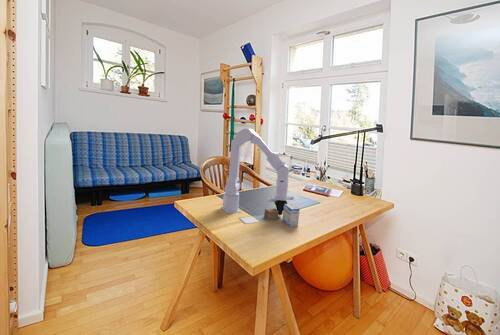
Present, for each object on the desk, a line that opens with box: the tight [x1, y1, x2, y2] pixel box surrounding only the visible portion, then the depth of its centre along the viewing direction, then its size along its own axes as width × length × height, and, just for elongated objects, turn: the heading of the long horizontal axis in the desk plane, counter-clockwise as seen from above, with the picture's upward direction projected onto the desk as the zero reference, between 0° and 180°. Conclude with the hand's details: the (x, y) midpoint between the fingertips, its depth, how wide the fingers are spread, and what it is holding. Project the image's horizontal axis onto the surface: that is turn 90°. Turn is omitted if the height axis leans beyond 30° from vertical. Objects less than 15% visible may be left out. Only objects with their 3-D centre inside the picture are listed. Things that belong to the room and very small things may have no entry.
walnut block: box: [263, 207, 279, 220], centre depth 137 cm, size 5×5×4 cm
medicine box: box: [281, 203, 300, 228], centre depth 130 cm, size 8×4×9 cm, turn 21°
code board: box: [237, 214, 283, 225], centre depth 135 cm, size 8×21×1 cm, turn 117°
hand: (279, 214), depth 139 cm, fingers closed
